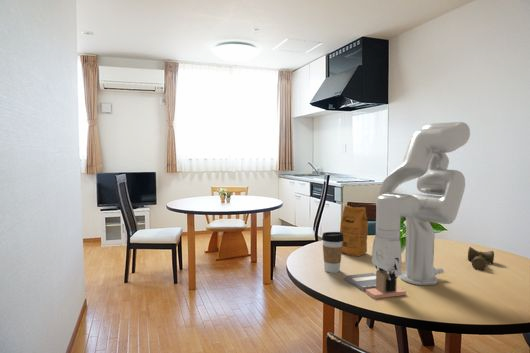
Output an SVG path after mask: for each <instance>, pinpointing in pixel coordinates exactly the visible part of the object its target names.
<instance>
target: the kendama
mask: <svg viewBox="0 0 530 353" xmlns="http://www.w3.org/2000/svg"><path fill="white" fill-rule="evenodd" d="M494 259H495V252H494V251H493V250H489V251H479V250H476V249H475V248H473V247H472V246H469V247H468V250H467V261H468V260H469V262H470V261H471V266H472V268H473V269H475V270H477V269H478V271H484V270H485V269H486V268H487V264H488V263H489V264H490V263H491V264H490V265H493V264H494V261H495V260H494Z"/></svg>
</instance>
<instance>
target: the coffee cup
mask: <svg viewBox="0 0 530 353" xmlns="http://www.w3.org/2000/svg"><path fill="white" fill-rule="evenodd" d="M343 239H344V238H343V233H341V232H340V231H326V232H322V235H321V240H322V253H323V266H324V267H323V268H324V272H328V273H332V274H333V273H335V274H336V273H339V272H340V271H341V270H340V269H341V262H342V255H343V253H342V241H343Z"/></svg>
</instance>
